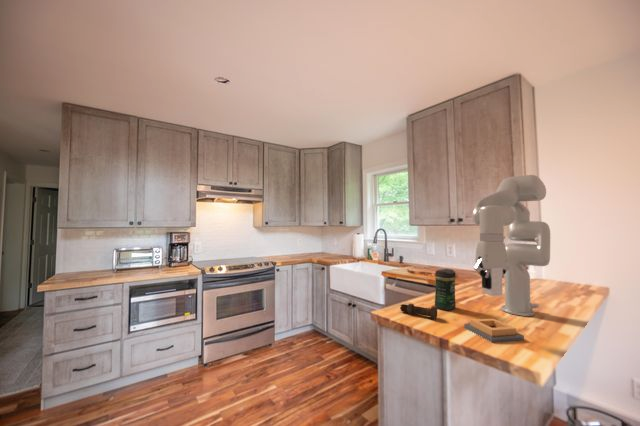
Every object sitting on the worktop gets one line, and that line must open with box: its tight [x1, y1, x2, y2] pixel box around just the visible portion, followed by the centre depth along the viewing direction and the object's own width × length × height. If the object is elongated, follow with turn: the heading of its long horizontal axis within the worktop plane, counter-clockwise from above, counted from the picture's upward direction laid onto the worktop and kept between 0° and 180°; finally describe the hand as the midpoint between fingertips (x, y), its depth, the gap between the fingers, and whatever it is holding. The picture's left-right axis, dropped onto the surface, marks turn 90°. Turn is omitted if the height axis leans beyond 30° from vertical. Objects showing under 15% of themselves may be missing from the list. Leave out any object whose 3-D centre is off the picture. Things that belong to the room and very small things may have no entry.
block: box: [481, 268, 503, 297], centre depth 99 cm, size 4×4×10 cm
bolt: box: [399, 303, 438, 321], centre depth 117 cm, size 6×5×15 cm
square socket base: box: [464, 318, 525, 343], centre depth 98 cm, size 13×13×4 cm
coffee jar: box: [434, 268, 457, 311], centre depth 128 cm, size 10×8×19 cm
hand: (492, 287), depth 99 cm, fingers closed on block, 4 cm apart
